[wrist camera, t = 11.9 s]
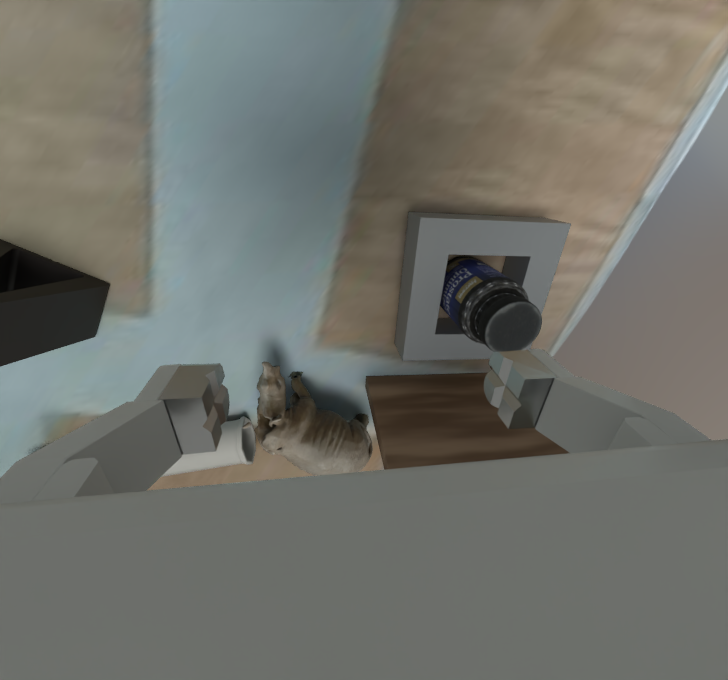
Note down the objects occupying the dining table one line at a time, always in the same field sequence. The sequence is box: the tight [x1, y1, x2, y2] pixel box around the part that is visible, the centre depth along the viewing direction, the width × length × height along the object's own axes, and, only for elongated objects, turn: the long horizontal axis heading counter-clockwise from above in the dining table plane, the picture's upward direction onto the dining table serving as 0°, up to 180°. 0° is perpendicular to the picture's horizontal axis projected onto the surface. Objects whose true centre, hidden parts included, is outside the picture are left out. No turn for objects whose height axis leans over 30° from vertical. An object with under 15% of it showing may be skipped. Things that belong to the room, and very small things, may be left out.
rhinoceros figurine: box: [242, 362, 372, 475], centre depth 36 cm, size 8×14×15 cm
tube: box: [161, 417, 256, 477], centre depth 38 cm, size 5×5×25 cm
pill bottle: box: [440, 257, 542, 352], centre depth 30 cm, size 6×6×11 cm
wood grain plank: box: [365, 373, 569, 470], centre depth 21 cm, size 6×18×42 cm, turn 87°
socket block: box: [394, 212, 571, 361], centre depth 33 cm, size 14×14×4 cm
